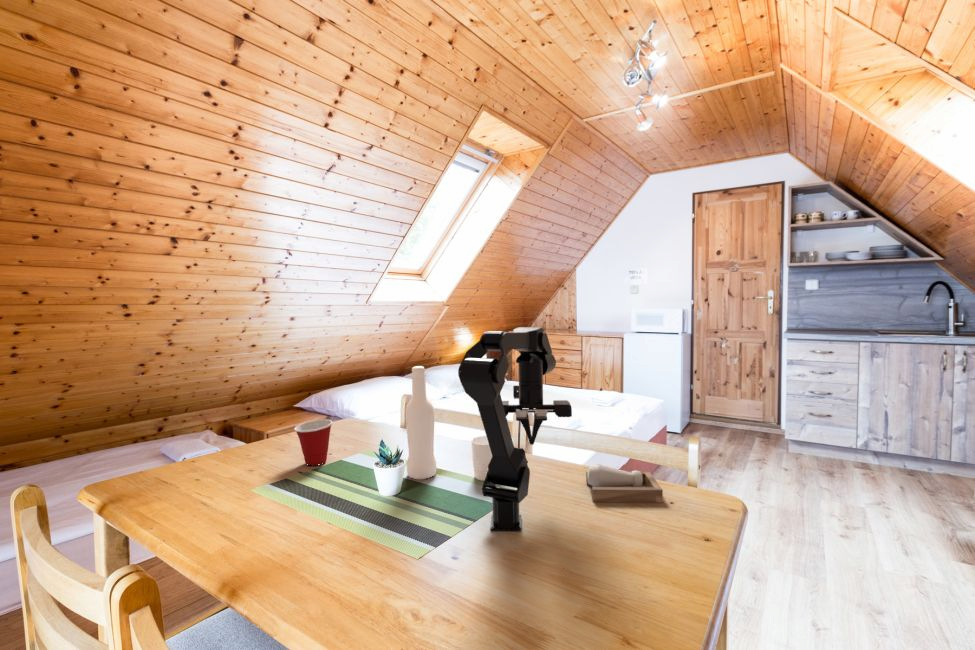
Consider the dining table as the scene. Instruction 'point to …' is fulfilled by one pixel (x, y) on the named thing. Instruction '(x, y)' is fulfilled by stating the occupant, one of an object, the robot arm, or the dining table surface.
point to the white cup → (481, 457)
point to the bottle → (420, 429)
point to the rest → (629, 492)
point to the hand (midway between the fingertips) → (531, 444)
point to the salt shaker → (613, 477)
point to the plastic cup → (314, 440)
